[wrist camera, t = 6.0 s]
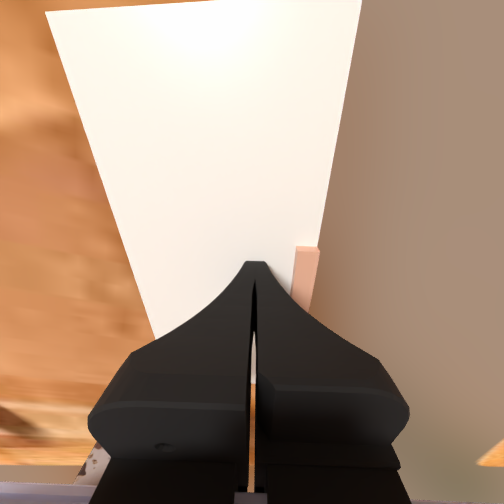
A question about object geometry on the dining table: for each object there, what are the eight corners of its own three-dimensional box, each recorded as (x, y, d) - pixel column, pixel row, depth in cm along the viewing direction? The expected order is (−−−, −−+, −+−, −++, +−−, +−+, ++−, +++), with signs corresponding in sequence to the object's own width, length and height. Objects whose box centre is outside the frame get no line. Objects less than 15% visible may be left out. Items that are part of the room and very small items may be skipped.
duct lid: (290, 376, 15) (292, 396, 14) (172, 364, 16) (163, 382, 14) (352, 11, 6) (374, -29, 5) (68, 27, 7) (22, -3, 5)
